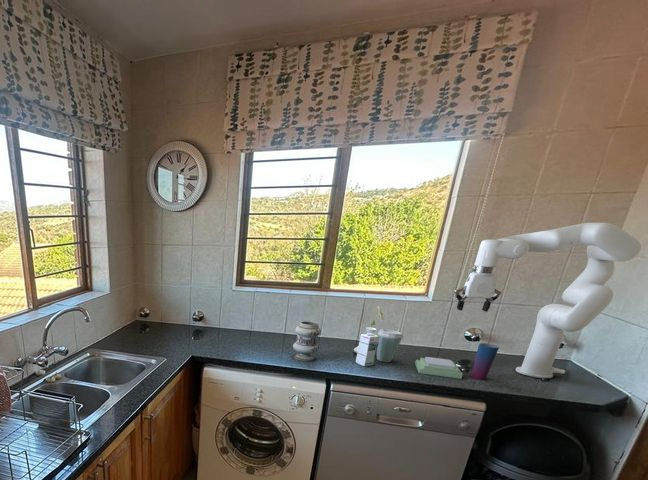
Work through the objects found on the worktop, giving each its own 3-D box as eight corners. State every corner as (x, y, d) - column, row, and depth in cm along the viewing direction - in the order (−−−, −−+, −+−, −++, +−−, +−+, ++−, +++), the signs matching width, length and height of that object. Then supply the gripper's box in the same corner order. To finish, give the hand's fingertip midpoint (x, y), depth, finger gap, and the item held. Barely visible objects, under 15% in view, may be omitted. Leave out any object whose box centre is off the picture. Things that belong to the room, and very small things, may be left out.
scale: (454, 368, 187) (457, 361, 186) (461, 378, 175) (463, 371, 174) (414, 363, 194) (416, 356, 192) (418, 372, 182) (420, 365, 181)
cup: (491, 381, 173) (503, 348, 168) (473, 380, 174) (484, 347, 169) (482, 375, 179) (493, 343, 174) (465, 374, 181) (475, 342, 175)
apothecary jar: (294, 352, 208) (299, 318, 201) (318, 356, 202) (325, 321, 196) (288, 359, 198) (294, 323, 192) (314, 363, 193) (320, 327, 186)
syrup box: (364, 366, 189) (370, 336, 184) (354, 362, 195) (360, 333, 189) (374, 365, 191) (380, 336, 185) (364, 361, 196) (370, 332, 191)
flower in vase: (372, 359, 198) (383, 309, 189) (349, 354, 207) (358, 305, 197) (383, 354, 206) (394, 306, 197) (360, 349, 214) (370, 302, 205)
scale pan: (449, 363, 186) (450, 359, 185) (454, 369, 177) (455, 366, 177) (424, 359, 190) (425, 356, 189) (427, 366, 181) (428, 363, 181)
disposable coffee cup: (382, 355, 205) (389, 327, 199) (402, 362, 195) (409, 332, 190) (367, 357, 201) (373, 328, 195) (386, 364, 192) (393, 334, 186)
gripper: (465, 270, 168) (453, 311, 174) (513, 272, 164) (499, 313, 170) (456, 268, 174) (445, 307, 181) (502, 269, 171) (489, 309, 177)
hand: (472, 310), depth 175 cm, fingers open, 9 cm apart
